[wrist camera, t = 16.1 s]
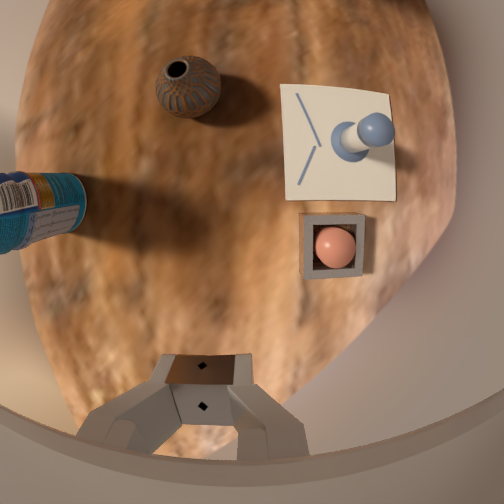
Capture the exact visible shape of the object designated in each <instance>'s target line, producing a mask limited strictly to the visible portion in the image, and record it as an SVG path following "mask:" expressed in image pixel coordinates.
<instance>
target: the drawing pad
mask: <svg viewBox="0 0 504 504" xmlns="http://www.w3.org/2000/svg"><path fill="white" fill-rule="evenodd" d="M280 92H281V107H282V124H283V144H284V167H285V196H286V200H374V201H396V179H395V154H394V139H393V141H392V142H391V143H390V144H388V145H385V146H381V147H377V148H370V149H367V150H363V151H360V152H357V153H348V152H346V151H345V150H344V149H343V148H342V147H341V145H340V142H339V137H340V134H341V133H342V132H343V131H344V130H345V129H347V128H349V127H351V126H352V125H354V124H356V123H358V122H359V121H360V120H361V119H363V118H364V117H366V116H368V115H370V114H372V113H375V112H378V113H382V114H384V115H386V116H387V117H388V118H389V119H390V120H391V121H392V118H391V109H390V102H389V94H384V93H378V92H371V91H365V90H358V89H350V88H341V87H330V86H318V85H299V84H280Z"/></svg>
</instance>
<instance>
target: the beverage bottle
mask: <svg viewBox="0 0 504 504" xmlns="http://www.w3.org/2000/svg"><path fill="white" fill-rule="evenodd" d="M86 204H87V200H86V193H85V189H84V187H83V185H82V183H81V181H80V180H79V179H78V178H77V177H76V176H74V175H73V174H70V173H25V172H22V171H15V172H10V173H8V174H5V173H0V254H6V253H8V252H10V251H11V250H20V249H23V248H26V247H28V246H29V245H30V244H31V243H34V242H37V241H40V240H43V239H46V238H49V237H52V236H55V235H58V234H64V233H68V232H71V231H73V230H74V229H76V228H77V227H78V226H79V225H80V223H81V222H82V220H83V218H84V215H85V211H86Z"/></svg>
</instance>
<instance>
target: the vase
mask: <svg viewBox="0 0 504 504" xmlns="http://www.w3.org/2000/svg"><path fill="white" fill-rule="evenodd" d="M220 94H221V79H220V76H219V73H218V71H217V70H216V69H215V67H214V66H213V65H212V64H211V63H209V62H208V61H206V60H205V59H203V58H200V57H196V56H182V57H178V58H176V59H174V60H172V61H170V62H169V63H167V64H166V65H165V66H164V67H163V68H162V70H161V71H160V73H159V75H158V77H157V80H156V95H157V98H158V101H159V103H160V104H161V106H162V107H163V108H164V109H165V110H166V111H168V112H169V113H171V114H172V115H174V116H177V117H180V118H195V117H199V116H201V115H204V114H205V113H207V112H208V111H210V110H211V109H212V108H213V107H214V106H215V104H216V103H217V101H218V99H219V97H220Z"/></svg>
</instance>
